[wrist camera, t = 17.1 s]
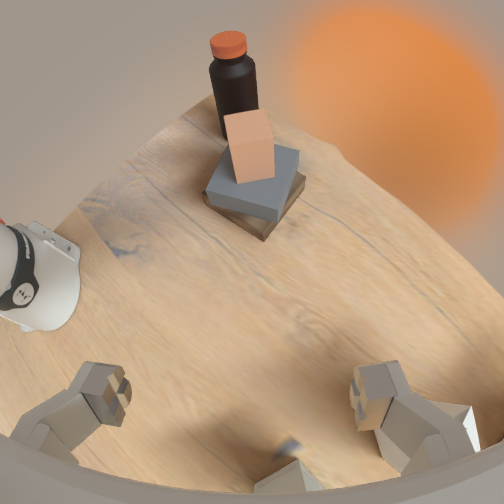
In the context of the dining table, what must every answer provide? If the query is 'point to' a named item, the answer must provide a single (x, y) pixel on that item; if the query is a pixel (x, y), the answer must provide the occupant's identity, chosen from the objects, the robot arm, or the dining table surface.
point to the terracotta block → (251, 145)
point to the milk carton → (454, 410)
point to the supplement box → (289, 480)
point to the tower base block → (258, 225)
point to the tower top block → (254, 186)
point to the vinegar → (232, 75)
